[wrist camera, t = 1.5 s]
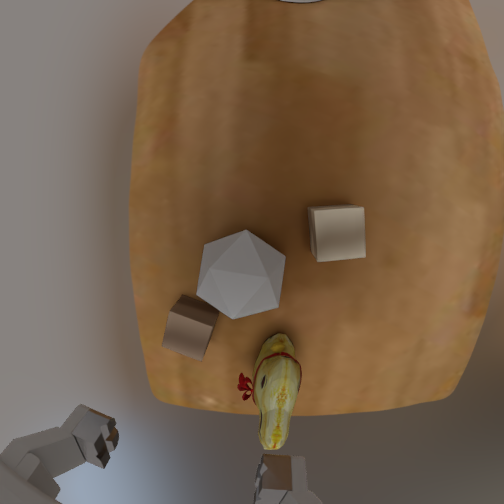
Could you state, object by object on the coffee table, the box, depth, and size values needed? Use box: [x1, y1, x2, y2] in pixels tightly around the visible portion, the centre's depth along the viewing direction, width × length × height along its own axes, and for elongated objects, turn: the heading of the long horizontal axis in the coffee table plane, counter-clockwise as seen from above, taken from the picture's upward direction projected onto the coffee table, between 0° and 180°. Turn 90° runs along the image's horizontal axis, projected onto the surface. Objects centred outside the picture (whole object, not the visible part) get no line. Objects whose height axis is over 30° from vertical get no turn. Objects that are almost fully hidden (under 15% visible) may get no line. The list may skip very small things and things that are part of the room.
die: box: [196, 230, 286, 319], centre depth 29 cm, size 8×9×10 cm
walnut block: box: [162, 295, 219, 361], centre depth 32 cm, size 5×5×5 cm
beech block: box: [308, 204, 366, 262], centre depth 29 cm, size 5×5×5 cm
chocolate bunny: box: [238, 333, 302, 450], centre depth 28 cm, size 7×11×15 cm, turn 170°
